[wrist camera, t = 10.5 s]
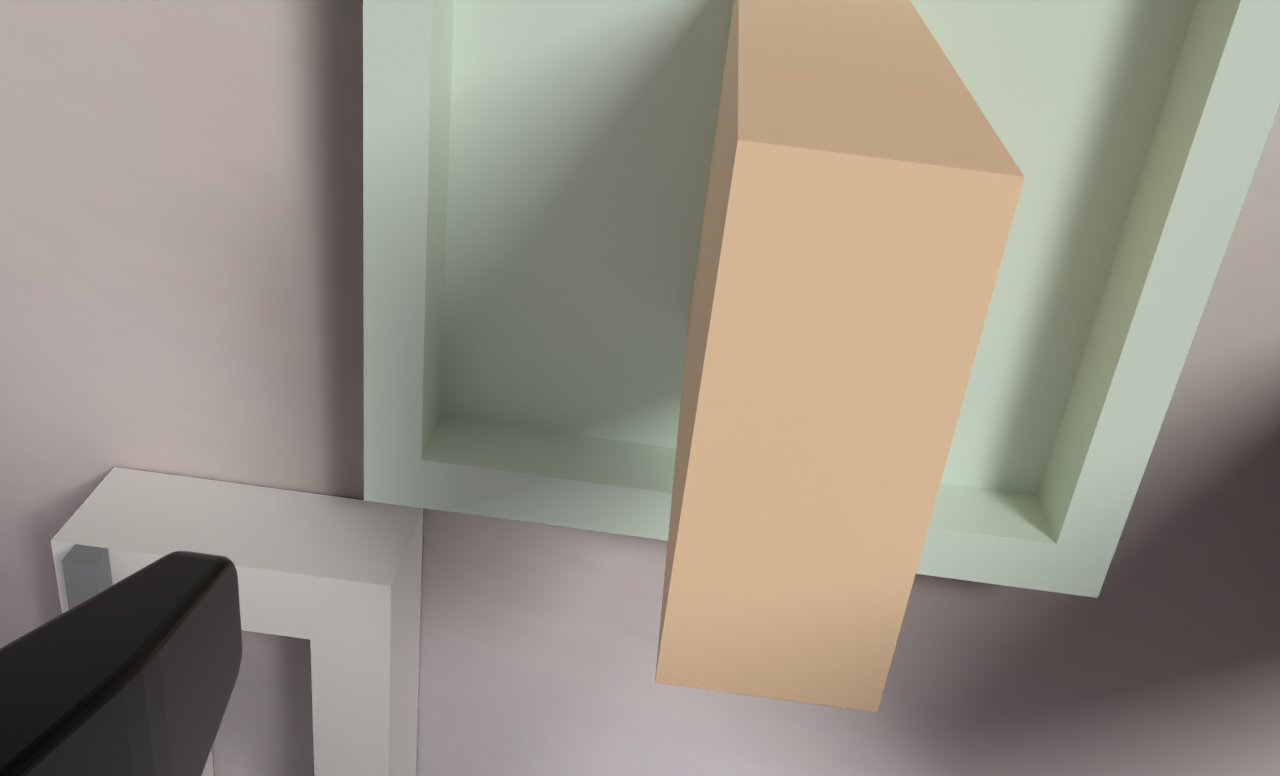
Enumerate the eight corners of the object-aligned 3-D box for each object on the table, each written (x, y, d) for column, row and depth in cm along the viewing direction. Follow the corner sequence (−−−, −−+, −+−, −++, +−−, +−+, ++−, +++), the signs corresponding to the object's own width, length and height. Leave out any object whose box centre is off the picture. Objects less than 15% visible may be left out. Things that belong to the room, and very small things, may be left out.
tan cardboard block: (825, 342, 21) (877, 712, 13) (687, 323, 21) (654, 682, 13) (898, -17, 18) (1025, 177, 10) (739, -37, 18) (737, 139, 10)
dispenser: (414, 854, 29) (380, 967, 26) (156, 819, 29) (97, 928, 26) (423, 507, 24) (384, 604, 21) (114, 467, 24) (36, 557, 21)
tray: (1069, 528, 23) (1097, 597, 21) (393, 439, 23) (364, 500, 21) (1330, -236, 17) (1403, -233, 15) (403, -350, 17) (361, -362, 15)
